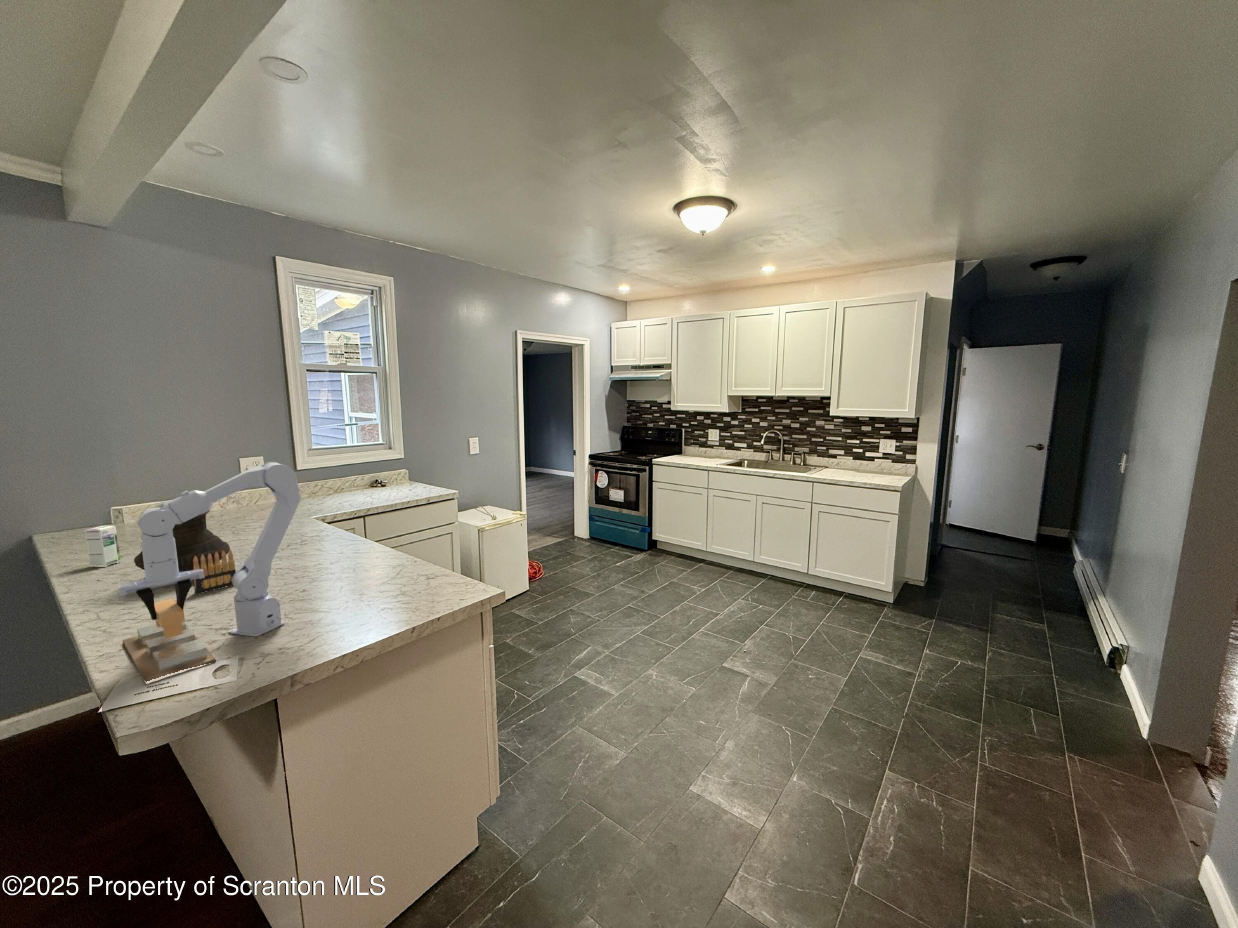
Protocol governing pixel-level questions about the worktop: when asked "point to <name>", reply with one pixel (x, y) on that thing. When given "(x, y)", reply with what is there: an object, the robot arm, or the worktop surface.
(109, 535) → the syrup box
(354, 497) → the worktop surface
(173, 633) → the tan rectangular plank
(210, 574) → the ammunition clip
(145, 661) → the rail base
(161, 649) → the rail
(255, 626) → the robot arm
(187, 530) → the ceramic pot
